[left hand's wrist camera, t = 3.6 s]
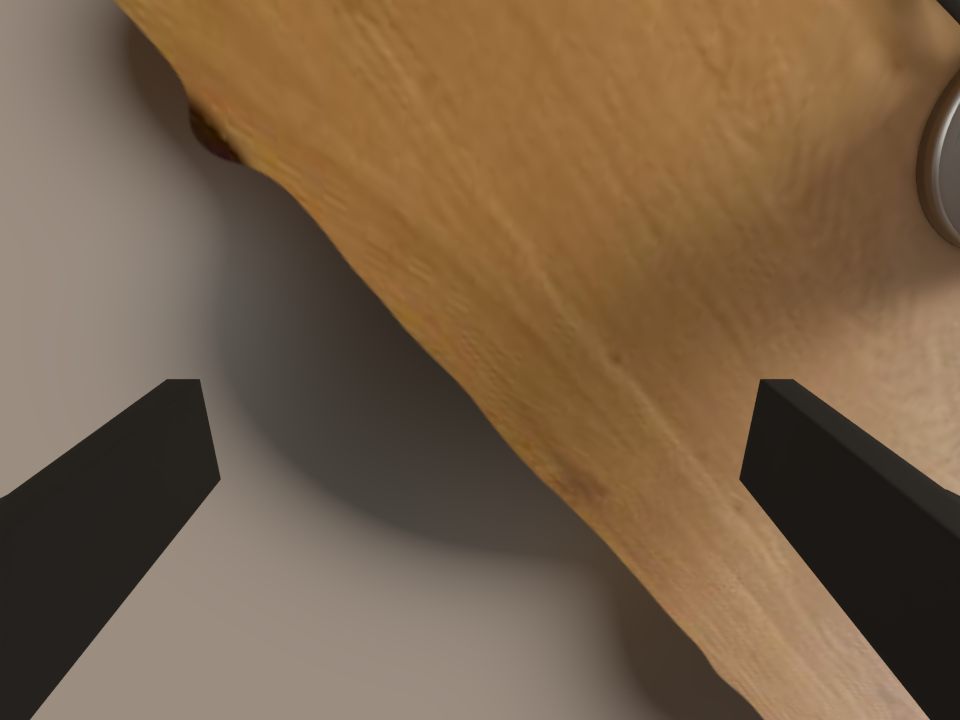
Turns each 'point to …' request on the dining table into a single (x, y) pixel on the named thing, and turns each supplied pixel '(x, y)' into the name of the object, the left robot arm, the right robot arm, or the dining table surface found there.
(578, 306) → the dining table surface
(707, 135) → the dining table surface
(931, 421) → the dining table surface
